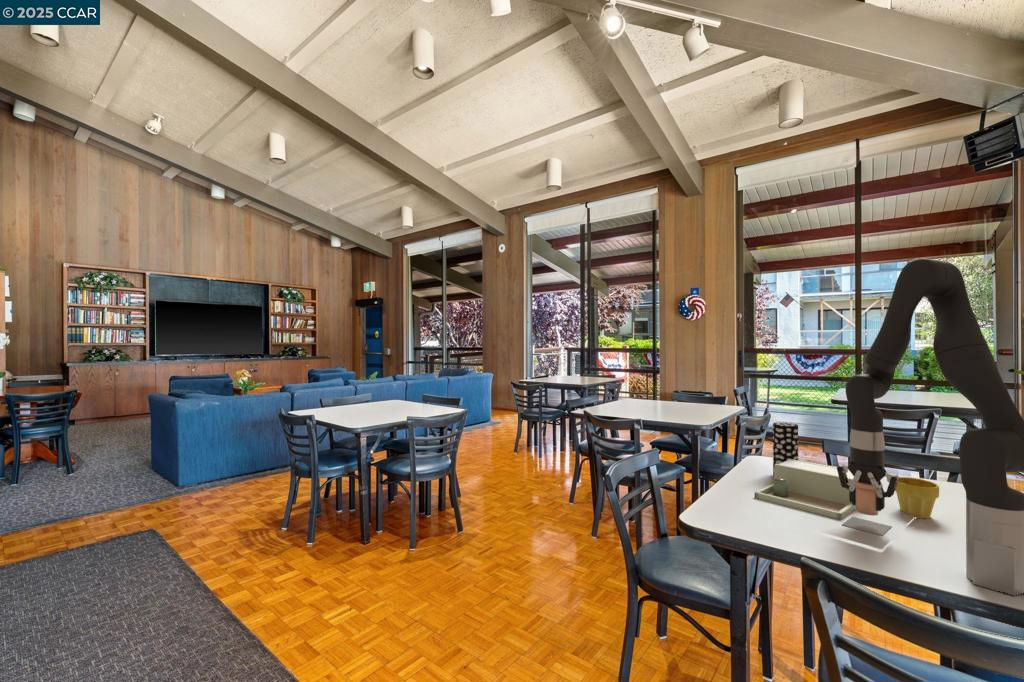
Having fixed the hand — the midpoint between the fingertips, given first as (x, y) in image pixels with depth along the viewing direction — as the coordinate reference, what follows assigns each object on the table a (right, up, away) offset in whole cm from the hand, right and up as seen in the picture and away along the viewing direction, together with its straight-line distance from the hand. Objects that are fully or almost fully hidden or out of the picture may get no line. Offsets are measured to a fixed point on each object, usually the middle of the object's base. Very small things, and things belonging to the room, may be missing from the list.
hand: (866, 507), depth 127 cm
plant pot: (+22, -6, +10) cm, 25 cm away
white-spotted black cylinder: (+6, -6, +48) cm, 49 cm away
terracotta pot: (0, -1, 0) cm, 1 cm away
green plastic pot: (-9, -5, +25) cm, 27 cm away
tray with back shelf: (-1, -6, +23) cm, 23 cm away
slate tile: (0, -6, 0) cm, 6 cm away
